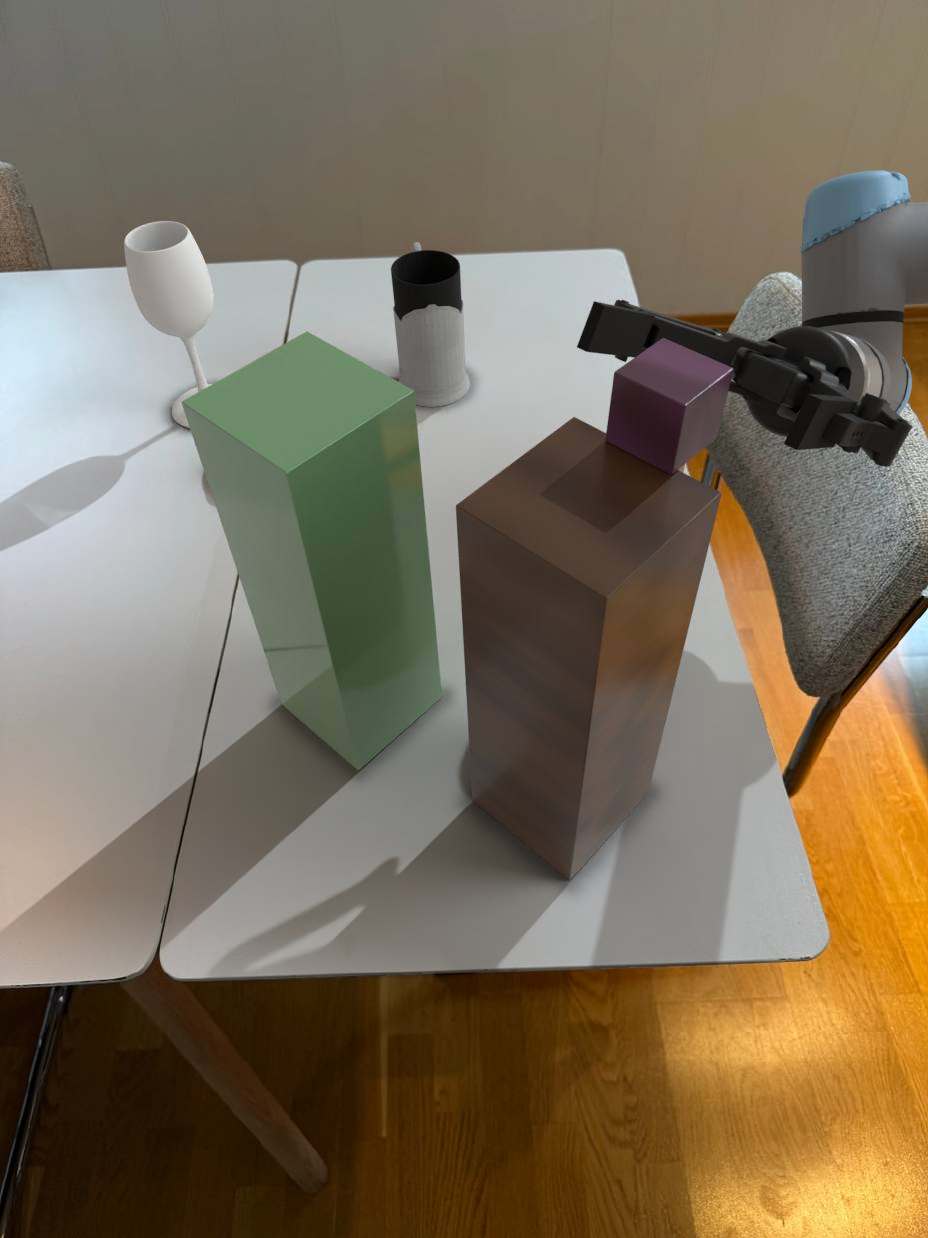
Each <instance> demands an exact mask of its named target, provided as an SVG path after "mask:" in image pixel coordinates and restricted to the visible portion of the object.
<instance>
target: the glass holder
mask: <svg viewBox="0 0 928 1238" xmlns="http://www.w3.org/2000/svg"><path fill="white" fill-rule="evenodd" d="M390 274H391V275H390V276H391V284H392V285H391V286H392V293H393V295H392V296H393V304H394V306H392V310H393V319H394V320H393V321H394V328H395V329H394V330H395V338H396V348H397V349H396V350H397V358H398V367H399V378H398V382H399V383H401V384H403V385H405V386H407V387H408V388H410V389H412V390H414V396H415V406H418V407H419V406H420V407H424V408H425V407H427V408H432V407H433V408H435V407H445V406H448V405H450V404H453V403H455V402H459V400H461V399H463V398H464V397H465V396H466V395H467V394H468V392H469V390H470V387H471V380H470V378H469V375H468V373H467V370H466V369H467V367H466V341H465V340H466V339H465V319H464V316H465V315H464V301H463V299H462V280H461V264H460V261H459V259H458V258H456V257H455V256H454V255H453V254H450V253H449V252H445V251H443V250H442V251H441V250H436V249H424V250H423V249H422V245H421V243H420V242H419V241H415V242H413V243H412V252H408V253H405V254H403V255H401V256H399V257H398V258H396V260H394V261H393V263H392V264H391V266H390Z"/></svg>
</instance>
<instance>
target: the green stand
mask: <svg viewBox="0 0 928 1238" xmlns="http://www.w3.org/2000/svg"><path fill="white" fill-rule="evenodd" d="M398 381H399V380H398ZM398 381H397V380H396V379H394V378H392V377H391V376H389V375H387V374H385V373H383V372H381V371H380V370H378V369H376V368H374V367H373V366H370V365H369V364H367V363H365V362H364V361H362V360H360V359H358V358H356V357H354V356H353V355H351V354H349V353H347V352H345V351H343V350H341V349H340V348H338V347H336V346H334V345H333V344H331V343H329V342H328V341H326V340H324V339H322V338H320V337H318V336H317V335H314V334H313V333H311V332H310V331H305V332H303V333H302V334H299V335H298V336H296V337H294V338H292V339H291V340H289V341H287V342H285V343H283V344H282V345H280V346H278V347H276V348H274V349H273V350H271V351H269V352H267V353H265V354H263V355H262V356H260V357H258V358H257V359H254V360H253V361H251V362H249V363H248V364H246V365H244V366H242V367H241V368H238V369H237V370H236V371H233V372H232V373H230V374H228V375H226V376H224V377H223V378H221V379H219V380H218V381H215V382H214V383H211V384H212V385H210V386H209V387H207V388H205V389H203V390H201V391H200V392H198V393H196V394H194V395H192V396H191V397H189V398H187V399H185V400H184V401H182V402H181V403H182V406H183V409H184V412H185V415H186V418H187V421H188V424H189V427H190V428H189V430H190V433H191V437H192V439H193V442H194V444H195V445H194V446H195V447H196V451H197V454H198V457H199V460H200V462H201V465H202V468H203V472H204V476H205V478H206V481H207V483H208V487H209V490H210V493H211V496H212V499H213V502H214V505H215V508H216V511H217V514H218V517H219V520H220V523H221V526H222V529H223V532H224V535H225V538H226V542H227V544H228V547H229V550H230V552H231V556H232V560H233V563H234V565H235V569H236V571H237V574H238V577H239V580H240V583H241V586H242V590H243V592H244V595H245V598H246V601H247V604H248V607H249V610H250V614H251V617H252V618H253V623H254V625H255V628H256V631H257V634H258V637H259V641H260V643H261V645H262V650H263V652H264V655H265V659H266V661H267V664H268V667H269V670H270V673H271V676H272V681H273V682H274V686H275V689H276V692H277V695H278V698H279V701H280V705H282V706H283V707H284V708H285V709H286V710H287V711H288V712H290V714H292V715H293V716H295V718H296V719H298V720H299V721H300V722H301V723H302V724H304V725H305V726H306V727H307V728H308V729H309V730H310V731H312V732H313V733H314V734H315V735H316V736H317V737H319V739H321V740H322V742H324V743H325V744H327V745H328V746H329V747H330V748H332V750H333V751H335V752H336V753H337V754H338V755H339V756H340V757H342V758H343V759H344V761H346V762H347V763H348V764H349V765H351V767H353V768H354V769H356V771H360V770H361V769H362V768H364V767H365V766H366V765H367V764H368V763H369V762H370V761H372V760H373V759H374V758H375V757H376V756H378V754H379V753H380V752H381V751H383V750H384V749H385V748H386V747H387V746H388V745H390V744H391V743H392V742H394V740H395V739H396V738H397V737H399V736H400V735H401V734H402V733H403V732H404V731H406V729H408V728H409V727H410V726H411V725H413V723H414V722H416V721H417V720H418V719H419V718H420V717H421V716H422V715H423V714H425V713H426V712H427V711H428V710H429V709H431V708H432V707H433V706H434V705H435V704H436V703H438V702H439V700H441V699H442V698H443V690H442V689H443V688H442V678H441V668H440V659H439V649H438V648H439V646H438V636H437V625H436V614H435V602H434V593H433V582H432V581H433V580H432V572H431V571H432V570H431V560H430V559H431V558H430V548H429V538H428V527H427V517H426V516H427V515H426V505H425V495H424V484H423V473H422V464H421V463H422V461H421V452H420V441H419V440H420V439H419V430H418V419H417V409H416V405H415V396H414V390H412V389H410V388H408V387H407V386H405V385H403V384H401V383H399V382H398Z"/></svg>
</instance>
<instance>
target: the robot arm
mask: <svg viewBox="0 0 928 1238" xmlns="http://www.w3.org/2000/svg"><path fill="white" fill-rule="evenodd" d="M909 191H910V190H909V181H908V179H907V177H906V176H905V175H904V174H902V173H901V172H898V171H887V170H885V169H882V170H881V169H877V170H875V169H874V170H865V171H858V172H853V173H847V174H843V175H840V176H837V177H834V178H831V179H828V180H826V181H824V182H822V183H821V184H819V185H818V186H817V187H815V188H814V189H813V190H812V191H811V192H810V194H809V195H808V196H807V198H806V202H805V205H804V216H803V222H802V223H803V224H802V237H801V246H800V254H801V255H800V257H801V325H799V326H793V327H790V328H785V329H783V330H781V331H779V332H777V333H775V334H773V335H772V336H770V337H768V338H767V339H766V340H764V339H762V340H759V341H757V340H753V339H751V338H747V337H745V336H742V335H740V334H739V335H738V334H736V333H733V332H727V333H724V332H723V331H722V330H721V329H719V328H717V327H713V328H711V327H707V326H702V325H699V324H696V323H693V322H689V321H686V320H683V319H679V318H676V317H673V316H670V315H666V314H663V313H661V312H657V311H653V310H650V309H648V308H645V307H641V306H638V305H635V304H631V303H630V302H629V301H628V300H625V299H616V300H615V301H614V304H609V303H604V302H600V301H593V302H592V305H591V308H590V311H589V312H588V316H587V318H586V321H585V324H584V327H583V330H582V332H581V334H580V337H579V340H578V342H577V345H576V348H577V349H579V350H581V351H584V352H587V353H593V354H600V355H609V356H614V358H615V359H617V360H619V361H621V362H623V363H627V361H628V358H633V359H634V358H635V357H637V356H638V355H639V354H641V353H642V352H644V351H645V350H647V349H648V348H649V347H651V346H652V345H654V344H655V343H657V342H658V341H660V340H661V339H662V338H665V339H667V340H669V341H672V342H674V343H676V344H679V345H681V346H683V347H685V348H688V349H690V350H692V351H695V352H697V353H699V354H701V355H704V356H706V357H708V358H711V359H713V360H715V361H717V362H720V363H722V364H724V365H727V366H729V367H731V368H733V374H732V378H731V382H730V386H729V390H728V392H731V393H734V394H736V395H737V396H739V397H740V398H742V399H743V400H745V404H746V406H747V409H748V412H749V413H750V415H751V416H752V418H753V419H754V420H755V422H756V423H757V424H758V425H759V426H760V427H761V428H763V429H764V430H766V431H767V432H770V433H771V434H774V435H777V436H780V437H785V440H784V442H783V445H785V446H786V447H789V448H791V449H793V450H795V451H803V450H805V451H806V450H815V449H830V448H835V446H836V445H837V446H838V447H840V449H841V450H842V451H843V452H846V453H848V454H851V453H853V454H858V453H859V451H860V449H861V450H862V451H863V452H864V453H865V455H866V456H867V458H869V459H870V460H871V461H873V462H874V464H875V465H877V466H880V467H891V466H892V464H893V463H894V460H895V458H896V457H897V455H898V453H899V452H900V450H901V448H902V446H903V444H904V443H905V441H906V439H907V437H908V436H909V434H910V432H911V430H912V428H913V425H912V424H911V423H909V420H906V419H905V418H903V417H902V416H901V413H902V412H903V410H905V408H906V406H907V404H908V402H909V400H910V396H911V393H912V389H913V376H912V373H911V369H910V367H909V365H908V361H906V360H905V357H904V356H903V337H904V323H905V322H904V317H905V316H904V315H905V306H909V305H926V304H927V305H928V201H917V202H911V200H912V199H911V197H912V195H911V193H910V192H909ZM732 380H733V381H732Z"/></svg>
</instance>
